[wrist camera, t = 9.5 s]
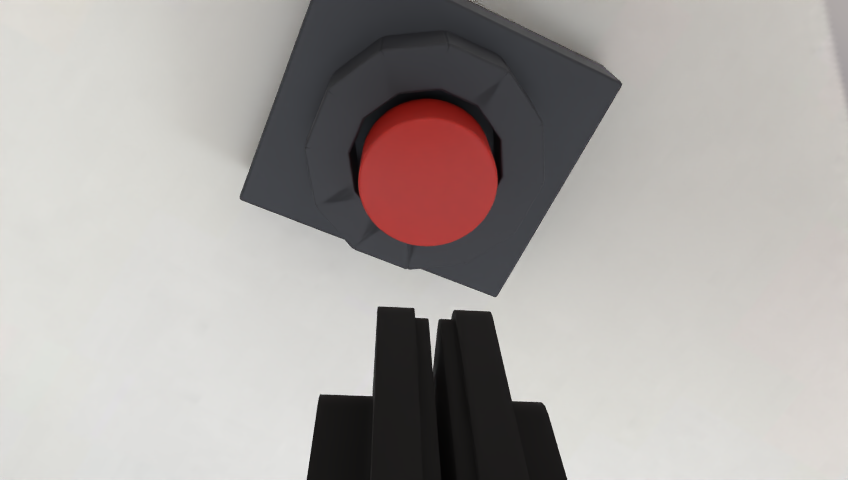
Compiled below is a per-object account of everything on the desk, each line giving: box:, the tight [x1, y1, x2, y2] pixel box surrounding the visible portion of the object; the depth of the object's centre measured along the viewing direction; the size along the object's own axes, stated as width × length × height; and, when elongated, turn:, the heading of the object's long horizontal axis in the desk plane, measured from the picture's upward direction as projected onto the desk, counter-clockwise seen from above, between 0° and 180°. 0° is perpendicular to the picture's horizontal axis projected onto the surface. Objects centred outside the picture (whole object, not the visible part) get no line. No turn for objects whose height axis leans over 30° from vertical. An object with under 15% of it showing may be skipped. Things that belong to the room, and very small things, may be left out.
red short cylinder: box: [358, 99, 498, 246], centre depth 18 cm, size 4×4×2 cm
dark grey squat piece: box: [240, 0, 622, 297], centre depth 20 cm, size 9×8×4 cm
